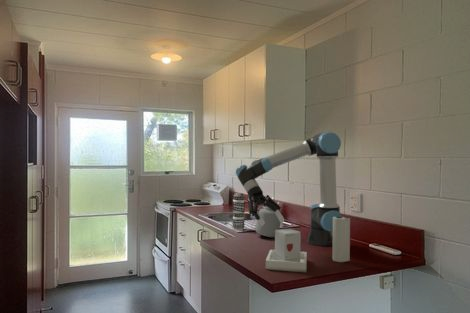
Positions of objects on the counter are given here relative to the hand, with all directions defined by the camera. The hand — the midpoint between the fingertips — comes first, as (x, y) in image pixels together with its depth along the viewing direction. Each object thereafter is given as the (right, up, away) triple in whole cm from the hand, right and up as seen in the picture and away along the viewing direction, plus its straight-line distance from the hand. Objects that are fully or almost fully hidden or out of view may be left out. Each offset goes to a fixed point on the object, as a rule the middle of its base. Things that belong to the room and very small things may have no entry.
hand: (273, 223), depth 167 cm
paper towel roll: (+33, -19, -1) cm, 37 cm away
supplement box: (+6, -17, -7) cm, 20 cm away
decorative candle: (-17, -18, +70) cm, 74 cm away
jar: (+3, -18, +48) cm, 52 cm away
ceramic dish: (+6, -18, -7) cm, 20 cm away
